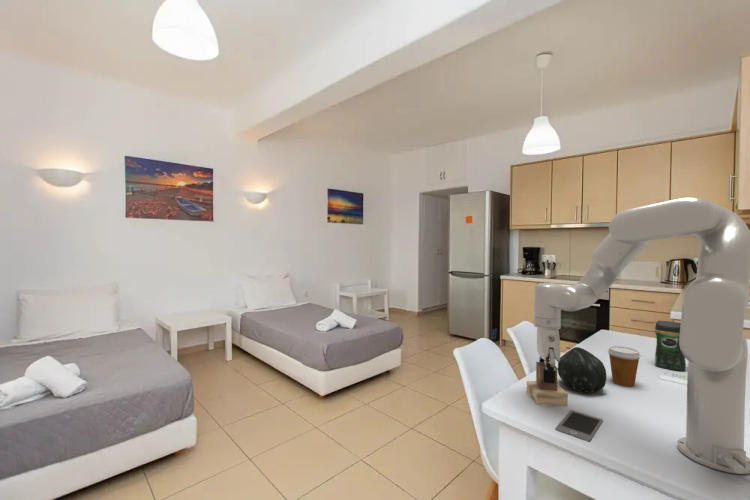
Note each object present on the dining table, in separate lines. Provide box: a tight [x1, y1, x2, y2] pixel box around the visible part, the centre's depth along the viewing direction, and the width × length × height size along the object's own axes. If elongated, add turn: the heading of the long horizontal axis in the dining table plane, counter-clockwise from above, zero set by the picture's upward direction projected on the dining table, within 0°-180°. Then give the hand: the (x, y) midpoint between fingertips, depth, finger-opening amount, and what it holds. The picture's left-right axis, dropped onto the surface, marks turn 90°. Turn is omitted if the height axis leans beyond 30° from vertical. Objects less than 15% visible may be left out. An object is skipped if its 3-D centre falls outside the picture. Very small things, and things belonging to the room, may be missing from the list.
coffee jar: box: [654, 320, 687, 372], centre depth 139 cm, size 10×8×19 cm
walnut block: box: [535, 361, 558, 391], centre depth 110 cm, size 5×5×7 cm
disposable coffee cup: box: [607, 345, 641, 388], centre depth 122 cm, size 10×10×12 cm
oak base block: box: [526, 380, 569, 406], centre depth 110 cm, size 9×9×4 cm
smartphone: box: [554, 409, 604, 443], centre depth 93 cm, size 15×8×1 cm, turn 135°
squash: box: [557, 346, 607, 393], centre depth 118 cm, size 14×15×15 cm
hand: (546, 378), depth 110 cm, fingers open, 5 cm apart
